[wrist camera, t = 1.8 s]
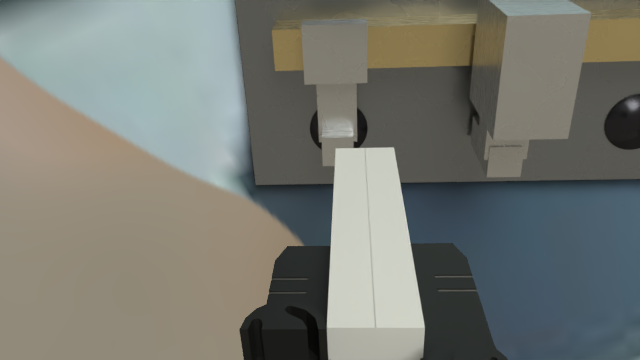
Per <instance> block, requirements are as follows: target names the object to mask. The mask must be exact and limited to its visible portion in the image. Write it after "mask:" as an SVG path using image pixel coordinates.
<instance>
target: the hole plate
mask: <svg viewBox="0 0 640 360" xmlns="http://www.w3.org/2000/svg"><path fill="white" fill-rule="evenodd" d="M568 1H570V2H572V3H574V4H576V5H577V6H579V7H581V8H583V9H585V10H613V9H640V0H568ZM235 4H236V13H237V22H238V31H239V40H240V49H241V58H242V67H243V76H244V85H245V94H246V103H247V112H248V120H249V129H250V138H251V147H252V156H253V165H254V174H255V183H256V185H284V184H334V173H335V166H323V160H322V142H319V131H318V110H317V89H316V84H310V85H305V84H304V70H294V71H275V63H274V51H273V39H272V29H273V27H274V25H275V23H276V21H283V20H313V19H343V18H373V17H403V16H433V15H463V14H477V10H478V0H235ZM471 76H472V66H437V67H401V68H367V83H357V142H353V143H354V148H388V147H394V150H395V156H396V162H397V168H398V174H399V179H400V183H411V182H474V181H538V180H601V179H640V61H616V62H582V67H581V72H580V77H579V83H578V88H577V93H576V99H575V104H574V109H573V115H572V120H571V125H570V131H569V136H568V139H533V140H529V146H528V153H527V159H523V162H522V169H521V176H520V177H486V175H485V173H484V171H483V168H482V166H481V164H480V162H479V160H478V158H477V156H476V153H475V151H474V149H473V147H472V145H471V133H472V122H473V115H479V114H478V112H477V111H476V109H475V107H474V105H473V103H472V102H471V100H470V87H471Z"/></svg>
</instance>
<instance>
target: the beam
mask: <svg viewBox="0 0 640 360" xmlns="http://www.w3.org/2000/svg"><path fill="white" fill-rule="evenodd" d="M587 11H588V12H590V13H591V19H590V24H589V29H588V35H587V40H586V45H585V51H584V56H583V61H582V62H616V61H640V9H613V10H587ZM476 21H477V14H463V15H433V16H403V17H373V18H343V19H313V20H283V21H276V23H275V25H274V27H273V29H272V39H273V51H274V63H275V71H294V70H304V84H305V85H310V84H316V89H317V110H318V131H319V142H322V160H323V166H335V153H336V148H354V143H353V142H357V83H367V68H401V67H437V66H472V65H473V54H474V43H475V32H476Z"/></svg>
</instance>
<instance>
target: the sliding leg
mask: <svg viewBox="0 0 640 360" xmlns="http://www.w3.org/2000/svg"><path fill="white" fill-rule="evenodd" d="M590 19H591V13H590V12H588V11H587V10H585V9H583V8H581V7H579V6H577V5H576V4H574V3H572V2H570V1H568V0H478V10H477V21H476V32H475V43H474V54H473V65H472V76H471V87H470V100H471V102H472V103H473V105H474V107H475V109H476V111H477V112H478V114H479V115H473V122H472V133H471V145H472V147H473V149H474V151H475V153H476V156H477V158H478V160H479V162H480V164H481V166H482V168H483V171H484V173H485V175H486V177H520V176H521V169H522V162H523V159H527V153H528V146H529V140H533V139H568V136H569V131H570V125H571V120H572V115H573V109H574V104H575V99H576V93H577V88H578V83H579V77H580V72H581V67H582V61H583V56H584V51H585V45H586V40H587V35H588V29H589V24H590Z"/></svg>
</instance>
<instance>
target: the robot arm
mask: <svg viewBox="0 0 640 360" xmlns="http://www.w3.org/2000/svg"><path fill="white" fill-rule="evenodd" d="M240 335H241V342H242V349H243V356H244V360H508V359H507V358H506V357H505V356H504V355H503V354H502V353H500V352H499V351H498V350H497V349H496V347H495V345H494V343H493V340H492V337H491V333H490V330H489V327H488V324H487V321H486V318H485V314H484V311H483V308H482V305H481V302H480V299H479V295H478V292H476V286H475V283H474V280H473V278H472V273H471V270H470V267H469V264H468V261H467V258H466V257H465V256H464V255H463V254H462V253H461V252H460V251H459V250H458V249H457V248H456V247H455V246H454V245H453V244H452V243H436V244H410V238H409V232H408V226H407V220H406V214H405V209H404V203H403V197H402V191H401V185H400V179H399V174H398V168H397V162H396V156H395V150H394V147H388V148H336V153H335V173H334V193H333V213H332V233H331V246H287V248H286V249H285V250H284V251H283V252H282V253H281V255H280V256H279V257H278V258H277V259H276V260H275V264H274V269H273V274H272V281H271V285H270V289H269V295H268V300H267V305H264V306H262V307H259V308H257V309H256V310H254V311H253V312H252V313H251V314H250V315H249V316H247V317H246V318H245V320H244V322H243V324H242V326H241V328H240Z"/></svg>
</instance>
